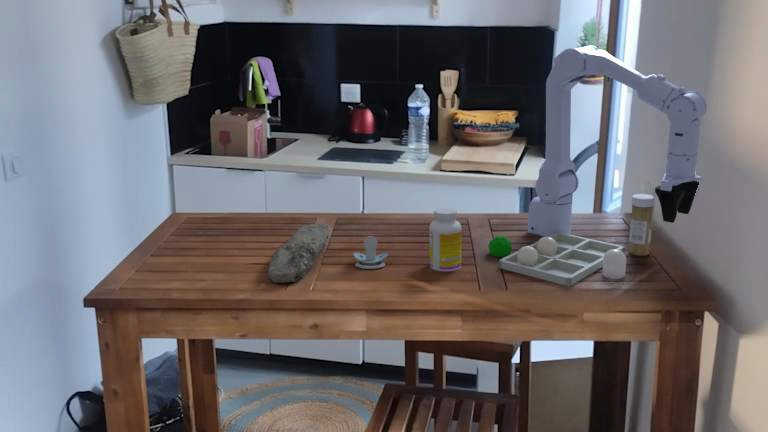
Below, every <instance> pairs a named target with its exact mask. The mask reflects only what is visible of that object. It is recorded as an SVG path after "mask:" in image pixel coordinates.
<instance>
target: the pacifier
mask: <svg viewBox="0 0 768 432" xmlns="http://www.w3.org/2000/svg"><path fill="white" fill-rule="evenodd" d="M378 243H379V242H378V240H377V238H376V237H375V236H373V235H369V236H366V237H365V238H364V240H363V247H364V249H365V254H363V253H359V252H354V253H353V257H354V258H355V259H356V260H357V261H358V262H356V263H354V266H355V267H356V268H358V269H359V268H360V269H364V270H376V269H377V270H378V269H382V268H384V267H385V266H386V264H385V262H383V261H384V260H385V259H386V258H387V257H389V256H388V255H389V253H388V252H385V253H381V254H377V253H376V252H377V248H378Z"/></svg>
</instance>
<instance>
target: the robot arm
mask: <svg viewBox="0 0 768 432" xmlns="http://www.w3.org/2000/svg"><path fill="white" fill-rule="evenodd" d="M592 75H593V76H594V75H595V76H596V75H598V76H599V75H604V76H606V77H608V78H610V79H613V80H614V81H617V82H618V83H621V84H622V85H624V86H626V87H629V88H631V89H632V90H634V91H635V92H636V94H637V98H638V99H639V100H641V101H642V102H644V103H645V104H647V105H649V106H651V107H653V108H655V109H656V110H658V111H660V112H661V113H663V114H665V115H666V116H667V118H668V120H669V121H670V124H669V130H668V132H669V133H668V142H667V154H666V155H667V156H666V165H665V172H664V174H663V178H662V180H661V181H660V185H657V186H655V187H654V193H655V194H656V196H657V198H658V201H659V205H660V209H661V216H662V220H663V222H667V223H673V224H674V222H676V221H675V220H676V218H677V215H678V214H683V215H684V214H685V215H688V214H689V213H690V211H691V208H692V206H693V203H694V199H695V197H696V195H695V193H696V190H697V188H698V185H699V182H697V181H699V180H702V176H701V175H698V176H697V175H696V168H697V160H698V153H699V152H698V151H699V141H700V133H701V132H700V130H701V129H700V128H701V120H702V119H701V118H702V117H704V115H705V113H706V111H707V103H706V100H705V98H704V97H703V96H702V95H701V94H699V93H698V92H697V91H687V89H686V87H684V86H680V87H679V86H677V85H675V84H673V83H671V82H669V81H668V80H666V78H667V77H666V76H665V75H663V74H662V73H660V74H657V75H656V74H654V73H653V74H649V75H647V76H646V75H644V74H642V73H641V72H640V71H638V70H636V69H635V68H633V67H631V66H629V65H627V64H626V63H624V62H623V61H622V60H620V59H618V58H617V57H615V56H613V55H611V54H610V53H608V51H606V50H604V49H599V47H597V46H595V45H590V44H588V45H585V46H581V47H580V46H579V47H574V48H572V47H570V48H566V49H564V50H563V51H561V52H560V53H559V54H558V55H557V56H555V57H554V58H553V66H552V68H551V70H550V72H549V75H547V78H546V83H545V160H544V162H543V163H542V165H540V168H539V170H538V178H537V180H536V182H535V187H534V190H535V193H536V195H537V196H535V197H533V198H532V200H531V201H530V203H529V206H528V214H527V215H528V217H527V218H528V220H527V233H529V234H533V235H538V236H541V237H542V238H543V237H548V236H550V235H552V234H554V233H556V232H560V233H565V234H569V235H571V232H572V231H571V228H572V211H573V210H572V209H573V199H574V198H573V197H574V196H573V195H574V193H575V192H576V191H577V189H578V188H579V183H580V182H579V181H580V180H579V177H578V174H577V173H576V164H575V163H574V162H573V160H572V159H571V120H572V119H571V117H572V115H571V114H572V112H571V110H572V109H571V107H572V89H573V88H574V87H575V86H577V84H579V83H580V82H581V81H582V80H583V79H585V78H587V77H590V76H592ZM686 91H687V92H686ZM696 194H697V193H696ZM694 196H695V197H694Z"/></svg>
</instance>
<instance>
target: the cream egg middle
mask: <svg viewBox="0 0 768 432" xmlns="http://www.w3.org/2000/svg"><path fill="white" fill-rule="evenodd" d="M537 242H538V243H537V251H538V253H539V254H541V255H545V256H550V257H551V256H553V255H554V254H555V253H556V251H557V243H556V241H555V240H554V239H553V238H551V237H543V236H542V237H541V238H539V240H537Z"/></svg>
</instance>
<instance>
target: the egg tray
mask: <svg viewBox="0 0 768 432" xmlns="http://www.w3.org/2000/svg"><path fill="white" fill-rule="evenodd" d="M548 237H551V238H553V239H554V240H555V241H556V243H557V251H556V253H555V254H554V255H553V256H551V257H550V256H545V255H541V254H539V253H538V261H537V263H536V264H535V265H534V266H532V267H529V266H525V265H521V264H520V263H519V262H518V260H517V253H518V251H519V250H517V251H515V252H513V253H510V255H508V256H507V257H501V259H500V258H499V259H498V269H501V270H505V271H509V272H512V273H517V274H521V275H524V276H529V277H531V278H536V279H538V280H539V279H540V280H542V281H543V280H544V281H546V282H551V283H555V284H558V285H562V286H566V287H568V288H569V287H571V286H573V285H575V284H576V283H578V282H580V281H582V280H583V279H585V278H587V277H588V276H590V275H592V274H593V273H595V272H597V271H598V270H600V269H601V268H602V269H603V258H604V255H605V253H606V252H607V251H609V250H611V249H618V250H620V251H622V252H623V253H624V255H625V253H626V246H623V245H620V244H615V243H609V242H605V241H600V240H597V239H592V238H587V237H583V236H578V235H573V234H570V235H569V234H565V233H560V232H556V233H554V234H552V235H550V236H548ZM537 243H538V241H535V242H534V243H531V244H530V245H528V246H531V247H533V248H535V249H536V251H537ZM537 252H538V251H537Z"/></svg>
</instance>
